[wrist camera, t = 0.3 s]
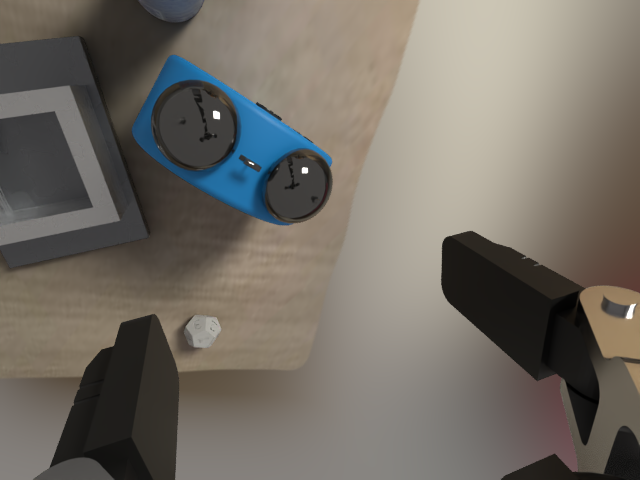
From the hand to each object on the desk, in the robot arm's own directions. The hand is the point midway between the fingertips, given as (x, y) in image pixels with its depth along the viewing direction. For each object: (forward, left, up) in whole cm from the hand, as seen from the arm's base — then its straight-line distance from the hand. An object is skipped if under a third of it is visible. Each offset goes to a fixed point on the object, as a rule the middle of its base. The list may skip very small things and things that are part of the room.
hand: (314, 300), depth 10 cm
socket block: (-2, -14, -27) cm, 31 cm away
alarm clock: (-1, 0, -27) cm, 27 cm away
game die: (+17, -7, -27) cm, 33 cm away
